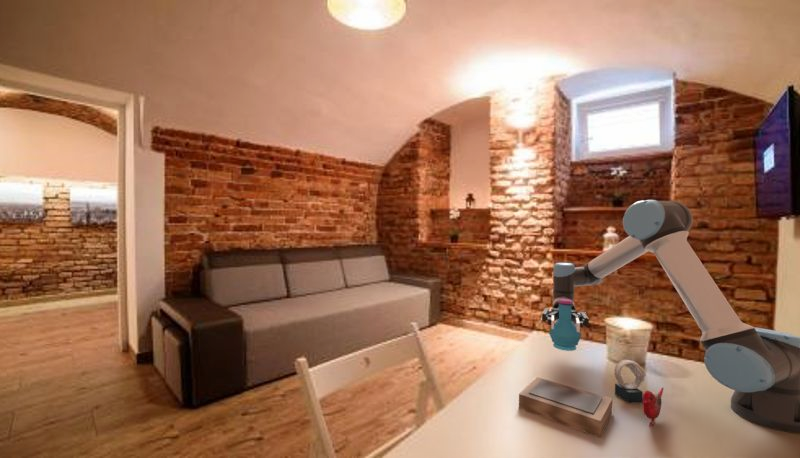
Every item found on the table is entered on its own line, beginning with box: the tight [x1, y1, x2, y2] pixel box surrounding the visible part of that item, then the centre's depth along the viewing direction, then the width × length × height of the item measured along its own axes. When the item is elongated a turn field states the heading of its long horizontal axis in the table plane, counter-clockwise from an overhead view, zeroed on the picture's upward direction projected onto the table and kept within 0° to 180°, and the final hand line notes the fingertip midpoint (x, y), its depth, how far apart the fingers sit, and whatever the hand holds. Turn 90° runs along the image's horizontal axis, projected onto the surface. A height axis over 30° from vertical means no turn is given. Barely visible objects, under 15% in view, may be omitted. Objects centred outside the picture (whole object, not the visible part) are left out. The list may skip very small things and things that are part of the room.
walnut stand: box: [518, 376, 613, 438], centre depth 96 cm, size 20×14×4 cm
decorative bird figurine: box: [642, 387, 665, 428], centre depth 91 cm, size 3×18×10 cm, turn 132°
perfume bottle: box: [548, 299, 582, 352], centre depth 112 cm, size 9×9×15 cm
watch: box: [613, 359, 647, 404], centre depth 104 cm, size 6×8×11 cm
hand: (565, 326), depth 107 cm, fingers closed on perfume bottle, 6 cm apart
